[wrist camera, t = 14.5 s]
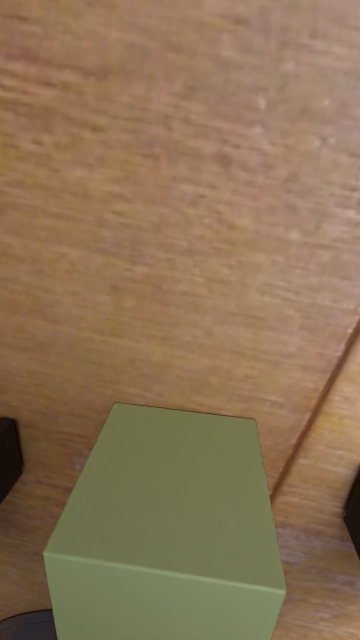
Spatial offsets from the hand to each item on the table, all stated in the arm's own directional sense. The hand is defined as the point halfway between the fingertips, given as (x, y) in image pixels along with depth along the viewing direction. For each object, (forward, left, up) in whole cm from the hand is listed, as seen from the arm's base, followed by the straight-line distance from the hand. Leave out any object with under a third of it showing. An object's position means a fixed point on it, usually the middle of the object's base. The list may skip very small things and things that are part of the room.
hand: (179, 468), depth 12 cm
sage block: (0, 0, 0) cm, 0 cm away
